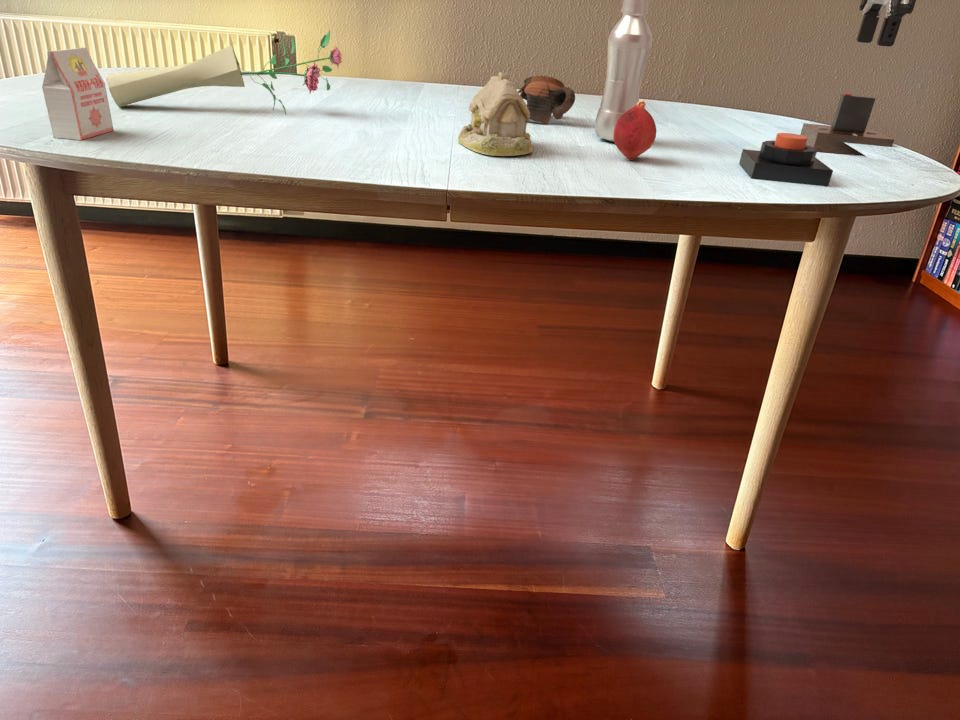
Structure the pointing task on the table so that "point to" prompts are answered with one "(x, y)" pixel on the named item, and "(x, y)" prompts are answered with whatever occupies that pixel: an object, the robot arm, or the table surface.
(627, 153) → the onion
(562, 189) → the table surface
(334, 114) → the table surface
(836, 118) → the dark grey rectangular block
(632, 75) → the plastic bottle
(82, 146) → the table surface
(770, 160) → the button housing
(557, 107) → the pottery mug
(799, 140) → the button
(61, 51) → the white gable-top carton
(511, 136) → the ceramic model
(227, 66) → the flower vase
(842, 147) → the brown switch base
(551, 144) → the table surface
